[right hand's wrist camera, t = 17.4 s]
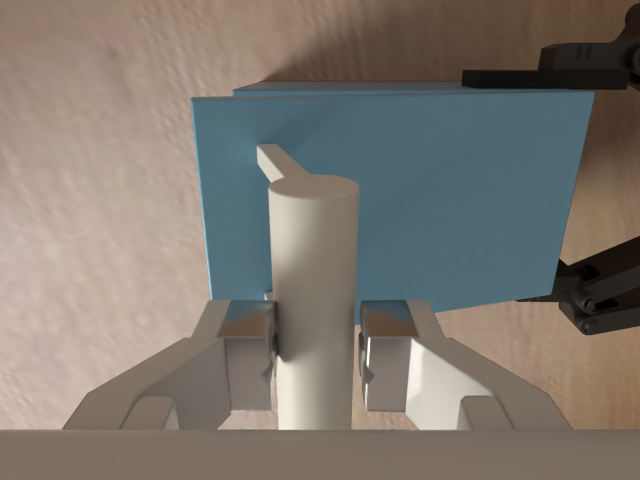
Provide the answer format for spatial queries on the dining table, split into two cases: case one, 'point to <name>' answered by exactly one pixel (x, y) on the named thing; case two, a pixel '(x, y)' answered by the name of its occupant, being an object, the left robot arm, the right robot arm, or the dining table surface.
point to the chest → (359, 88)
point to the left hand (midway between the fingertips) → (457, 182)
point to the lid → (379, 213)
